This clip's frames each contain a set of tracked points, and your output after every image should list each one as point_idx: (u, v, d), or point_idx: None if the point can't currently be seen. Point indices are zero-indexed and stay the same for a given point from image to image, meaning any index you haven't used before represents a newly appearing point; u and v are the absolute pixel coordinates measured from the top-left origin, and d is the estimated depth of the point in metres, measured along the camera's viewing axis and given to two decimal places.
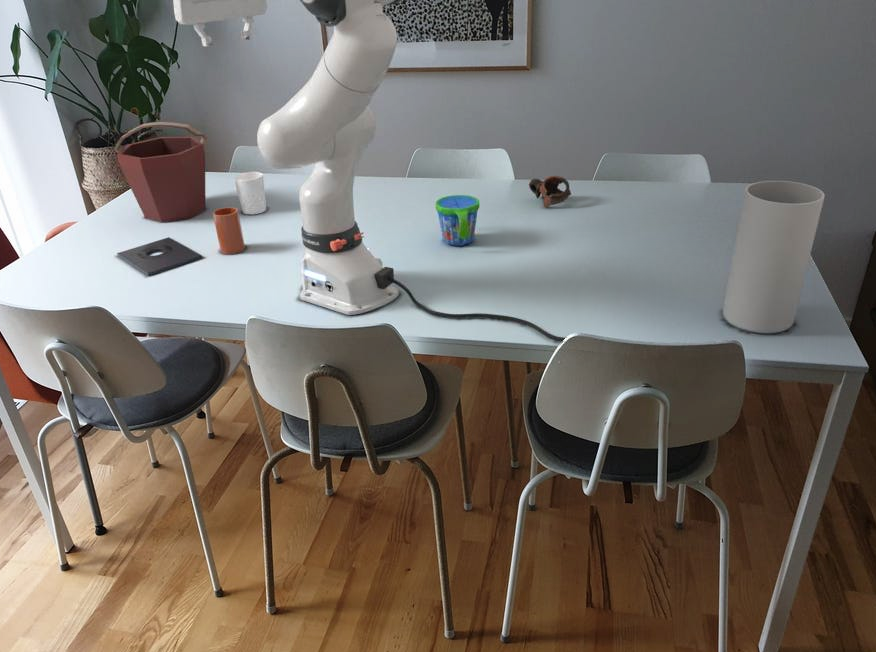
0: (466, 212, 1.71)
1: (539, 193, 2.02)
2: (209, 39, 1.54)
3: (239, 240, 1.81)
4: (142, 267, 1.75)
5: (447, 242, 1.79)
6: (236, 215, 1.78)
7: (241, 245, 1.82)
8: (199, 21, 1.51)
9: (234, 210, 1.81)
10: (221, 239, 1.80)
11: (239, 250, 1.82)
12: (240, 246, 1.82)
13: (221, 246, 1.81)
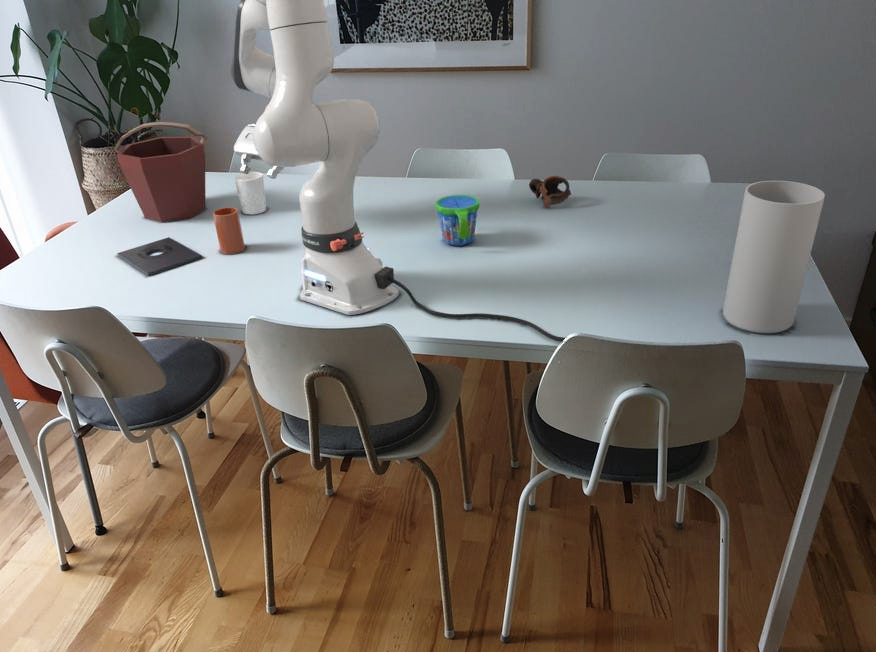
0: (466, 212, 1.71)
1: (539, 193, 2.02)
2: (244, 166, 1.86)
3: (239, 240, 1.81)
4: (142, 267, 1.75)
5: (447, 242, 1.79)
6: (236, 215, 1.78)
7: (241, 245, 1.82)
8: (242, 150, 1.87)
9: (234, 210, 1.81)
10: (221, 239, 1.80)
11: (239, 250, 1.82)
12: (240, 246, 1.82)
13: (221, 246, 1.81)
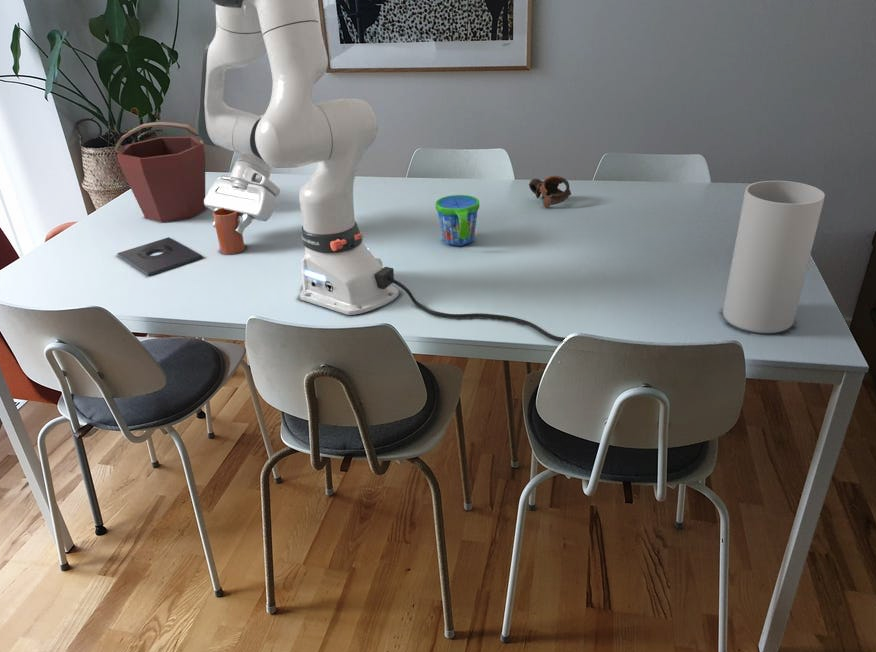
0: (466, 212, 1.71)
1: (539, 193, 2.02)
2: None
3: (239, 240, 1.81)
4: (142, 267, 1.75)
5: (447, 242, 1.79)
6: (236, 215, 1.78)
7: (241, 245, 1.82)
8: (211, 204, 1.83)
9: None
10: (221, 239, 1.80)
11: (239, 250, 1.82)
12: (240, 246, 1.82)
13: (220, 246, 1.81)
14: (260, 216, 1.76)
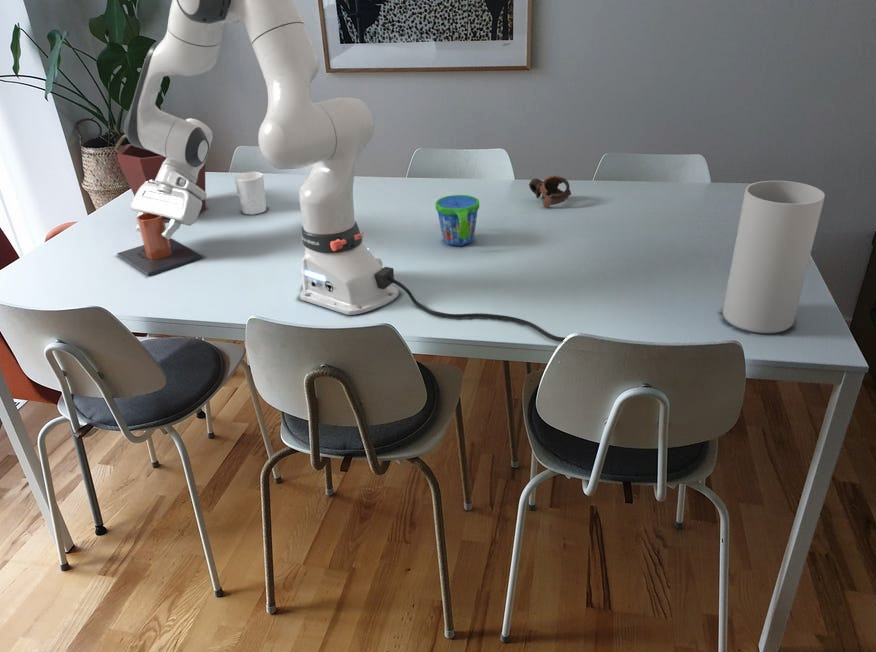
0: (466, 212, 1.71)
1: (539, 193, 2.02)
2: None
3: (165, 245, 1.79)
4: (142, 267, 1.75)
5: (447, 242, 1.79)
6: (160, 220, 1.76)
7: (167, 250, 1.80)
8: (138, 208, 1.81)
9: None
10: (146, 244, 1.78)
11: (165, 255, 1.80)
12: (166, 251, 1.80)
13: (146, 251, 1.79)
14: (184, 221, 1.74)
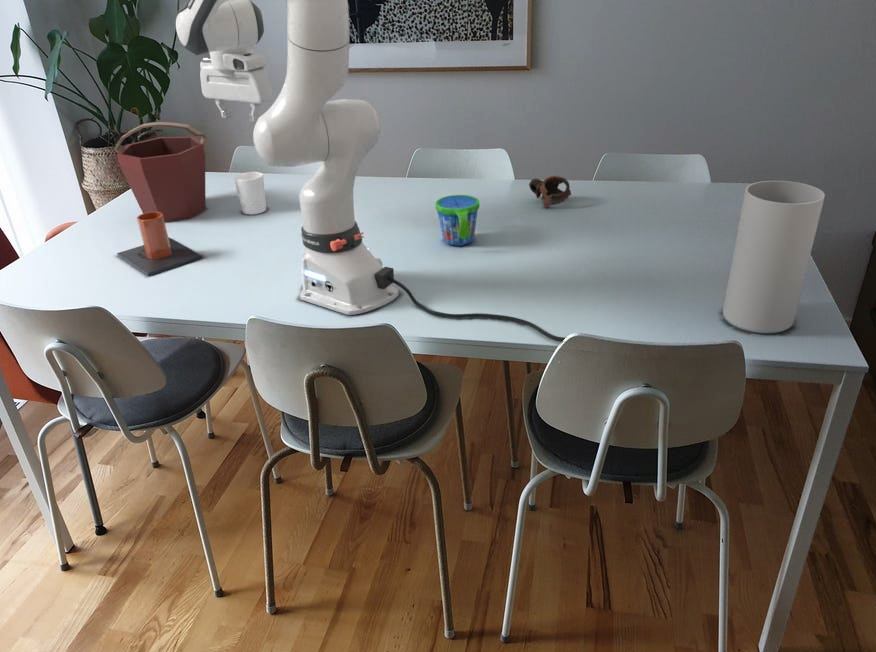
0: (466, 212, 1.71)
1: (539, 193, 2.02)
2: (223, 113, 1.79)
3: (165, 245, 1.79)
4: (142, 267, 1.75)
5: (447, 242, 1.79)
6: (160, 220, 1.76)
7: (167, 250, 1.80)
8: (212, 97, 1.78)
9: (159, 214, 1.78)
10: (146, 244, 1.78)
11: (165, 255, 1.80)
12: (166, 251, 1.80)
13: (146, 251, 1.79)
14: (263, 102, 1.71)
